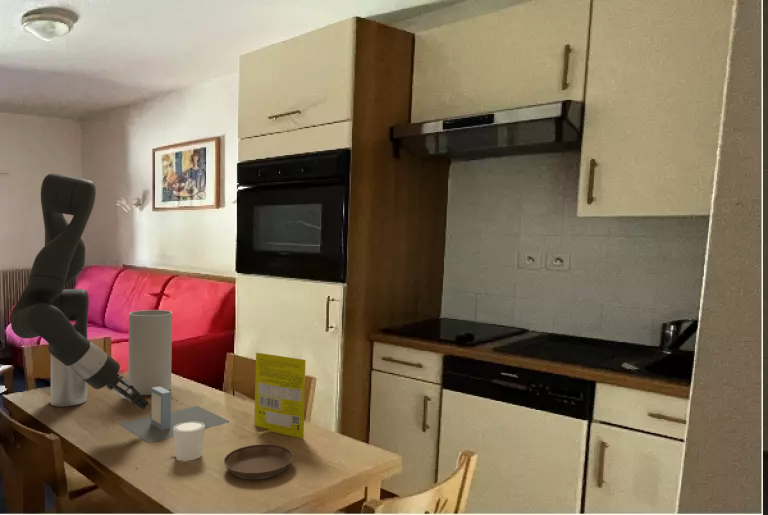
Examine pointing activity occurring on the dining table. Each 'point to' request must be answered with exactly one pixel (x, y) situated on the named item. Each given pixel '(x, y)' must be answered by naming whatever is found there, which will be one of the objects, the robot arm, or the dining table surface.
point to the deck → (160, 408)
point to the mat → (172, 423)
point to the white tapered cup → (188, 440)
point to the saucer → (258, 461)
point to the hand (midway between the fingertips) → (144, 405)
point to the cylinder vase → (150, 350)
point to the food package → (280, 394)
